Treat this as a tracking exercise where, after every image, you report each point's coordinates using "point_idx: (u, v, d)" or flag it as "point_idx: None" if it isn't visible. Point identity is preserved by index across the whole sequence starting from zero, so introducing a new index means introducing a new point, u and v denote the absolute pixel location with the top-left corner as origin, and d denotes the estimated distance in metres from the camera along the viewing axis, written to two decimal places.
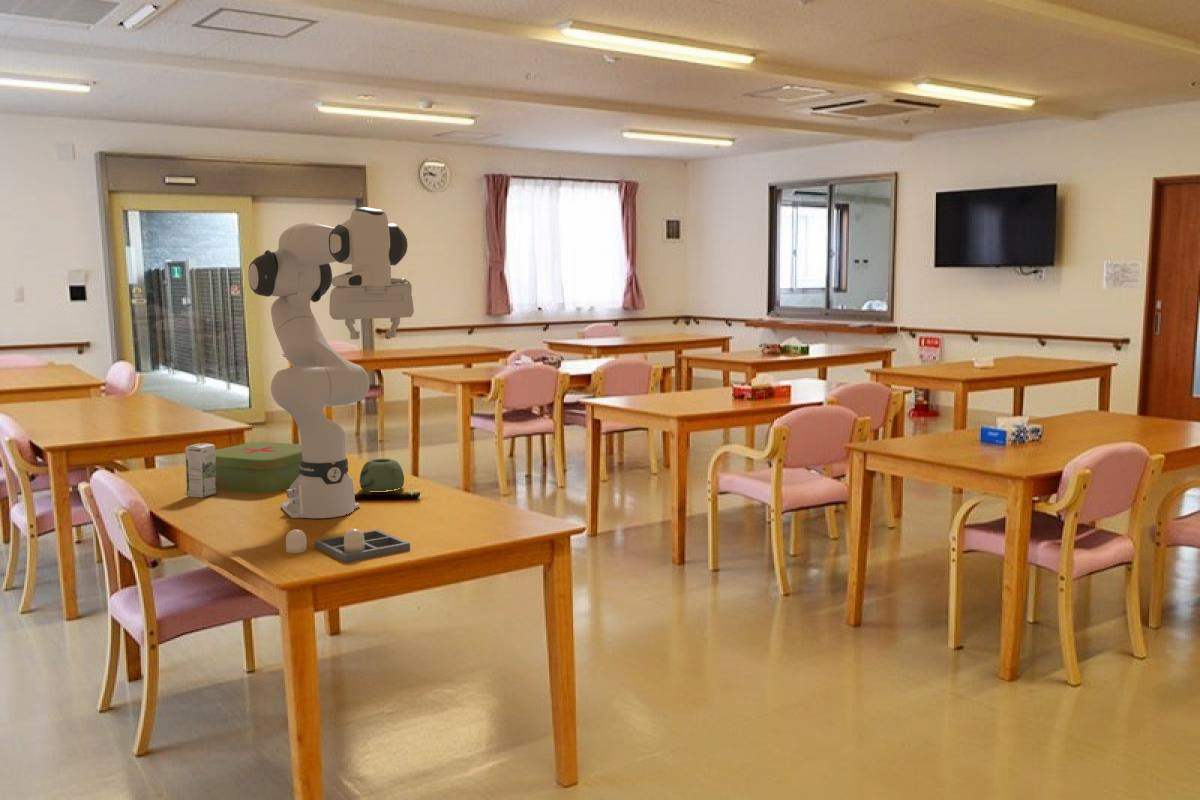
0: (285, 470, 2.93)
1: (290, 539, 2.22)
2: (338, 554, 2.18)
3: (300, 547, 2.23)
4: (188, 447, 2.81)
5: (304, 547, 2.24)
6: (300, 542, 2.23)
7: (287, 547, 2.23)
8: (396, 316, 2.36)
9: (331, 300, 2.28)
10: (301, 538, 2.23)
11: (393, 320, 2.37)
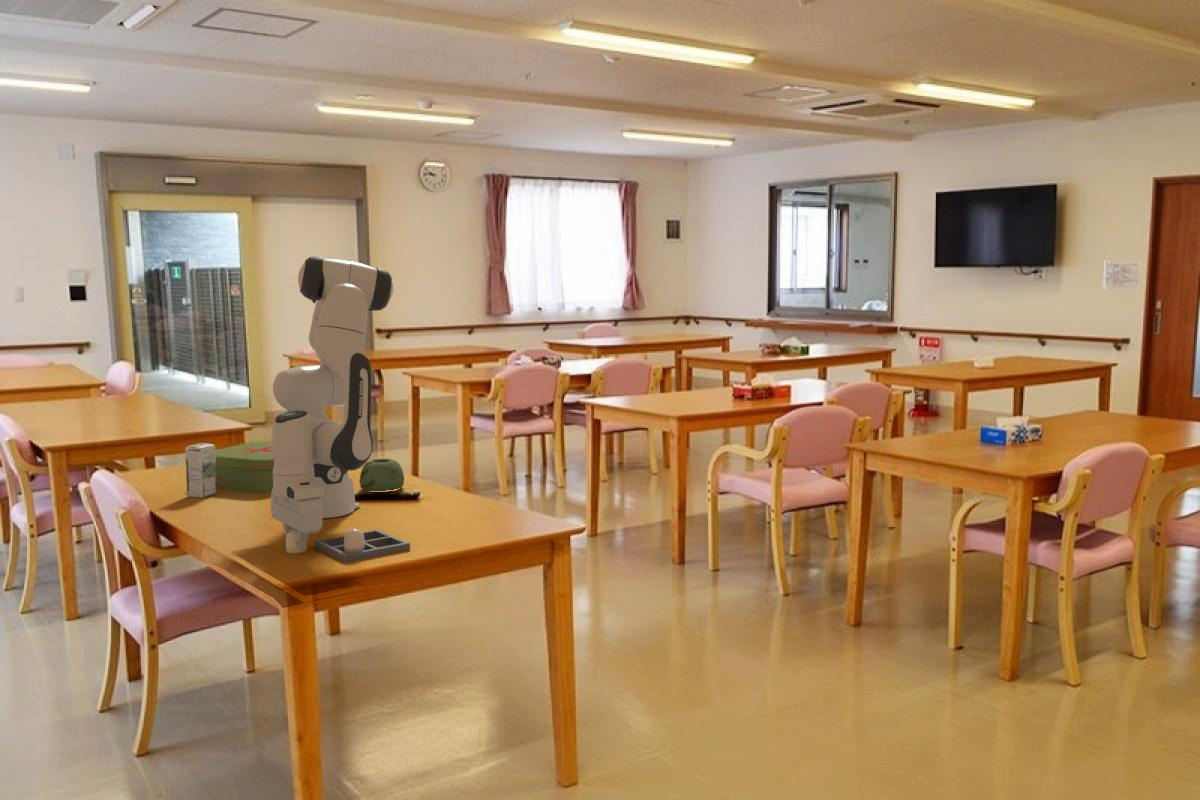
0: None
1: (290, 539, 2.22)
2: (338, 554, 2.18)
3: None
4: (188, 447, 2.81)
5: None
6: None
7: (287, 547, 2.23)
8: None
9: (309, 514, 2.16)
10: None
11: None
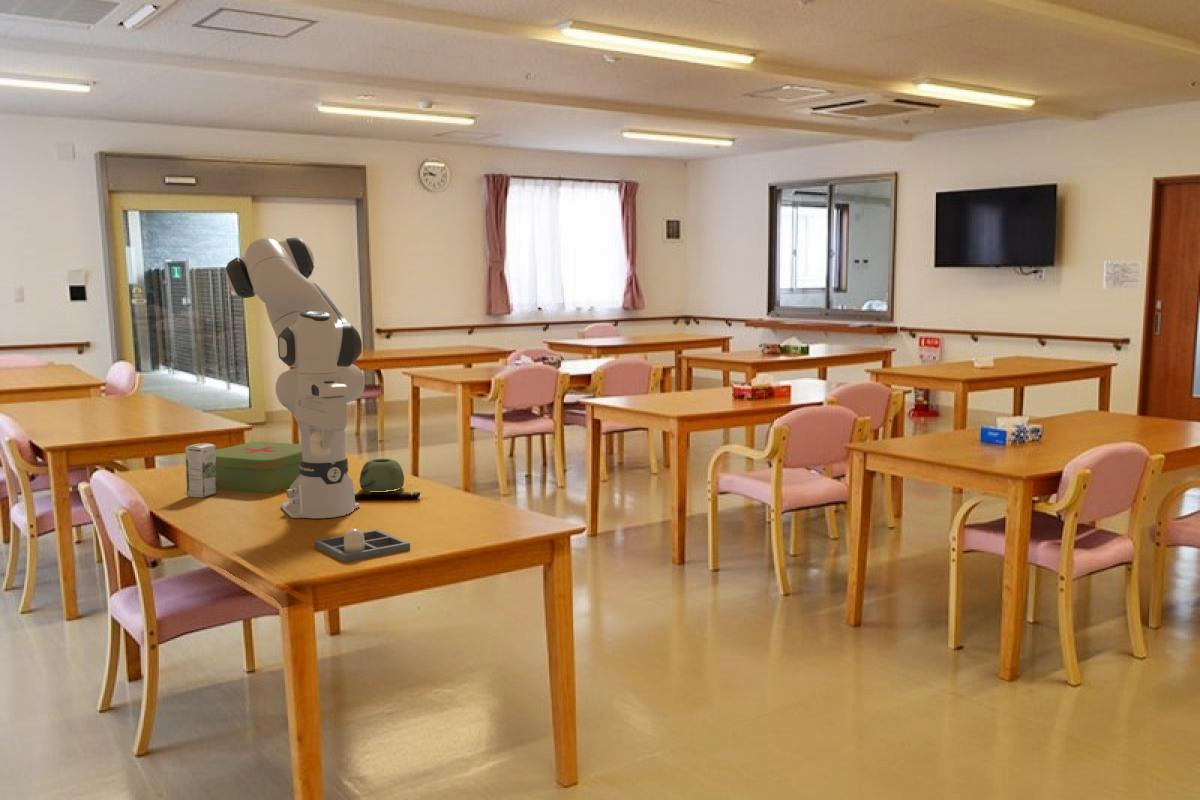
0: (285, 470, 2.93)
1: (314, 439, 2.22)
2: (338, 554, 2.18)
3: None
4: (188, 447, 2.81)
5: None
6: None
7: (311, 448, 2.23)
8: None
9: (333, 412, 2.15)
10: None
11: (315, 427, 2.27)
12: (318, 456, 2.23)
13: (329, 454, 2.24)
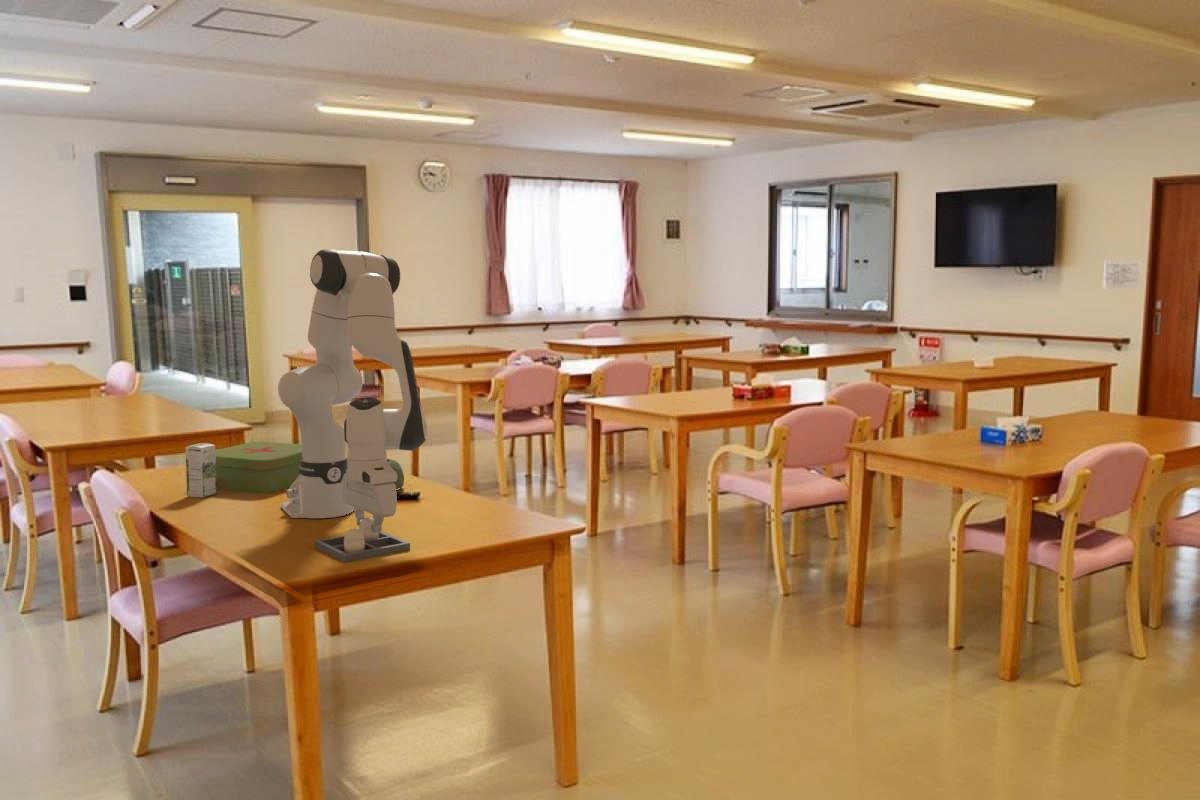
0: (285, 470, 2.93)
1: (364, 527, 2.29)
2: (338, 554, 2.18)
3: (373, 535, 2.30)
4: (188, 447, 2.81)
5: (377, 535, 2.31)
6: None
7: None
8: None
9: (384, 498, 2.22)
10: None
11: None
12: None
13: None
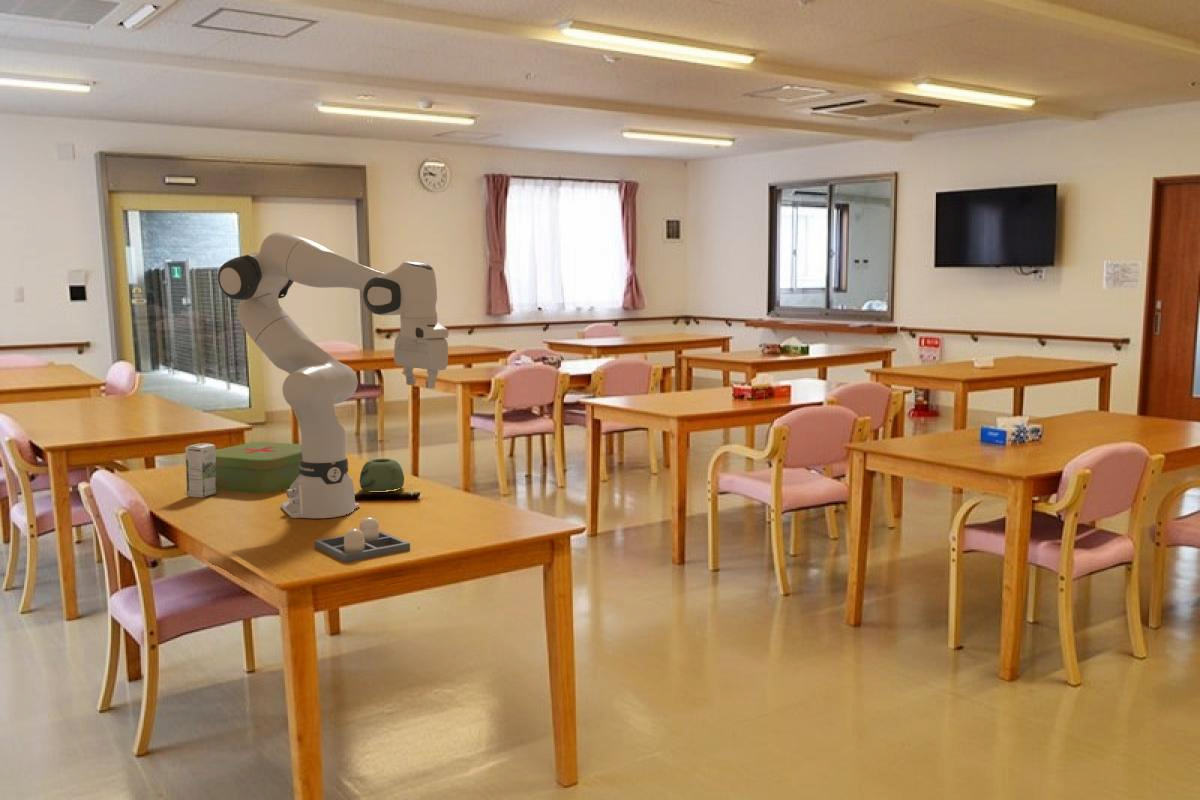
0: (285, 470, 2.93)
1: (364, 527, 2.29)
2: (338, 554, 2.18)
3: (373, 535, 2.30)
4: (188, 447, 2.81)
5: (377, 535, 2.30)
6: (373, 530, 2.29)
7: None
8: None
9: (437, 352, 2.35)
10: (374, 526, 2.30)
11: (411, 368, 2.48)
12: None
13: None
